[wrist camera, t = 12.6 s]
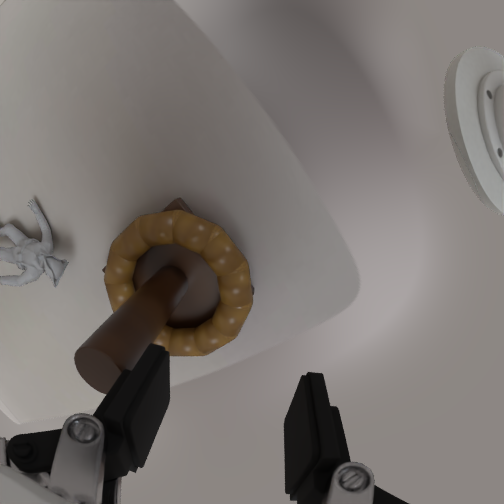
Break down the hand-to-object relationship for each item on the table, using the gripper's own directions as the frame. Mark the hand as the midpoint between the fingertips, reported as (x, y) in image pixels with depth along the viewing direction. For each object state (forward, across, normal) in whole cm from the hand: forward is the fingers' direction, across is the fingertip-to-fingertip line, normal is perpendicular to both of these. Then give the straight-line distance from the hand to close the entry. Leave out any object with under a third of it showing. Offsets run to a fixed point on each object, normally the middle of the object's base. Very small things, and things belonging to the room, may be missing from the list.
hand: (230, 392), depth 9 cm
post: (+10, +5, 0) cm, 11 cm away
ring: (+8, +5, 0) cm, 9 cm away
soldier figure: (+10, +20, 0) cm, 22 cm away
